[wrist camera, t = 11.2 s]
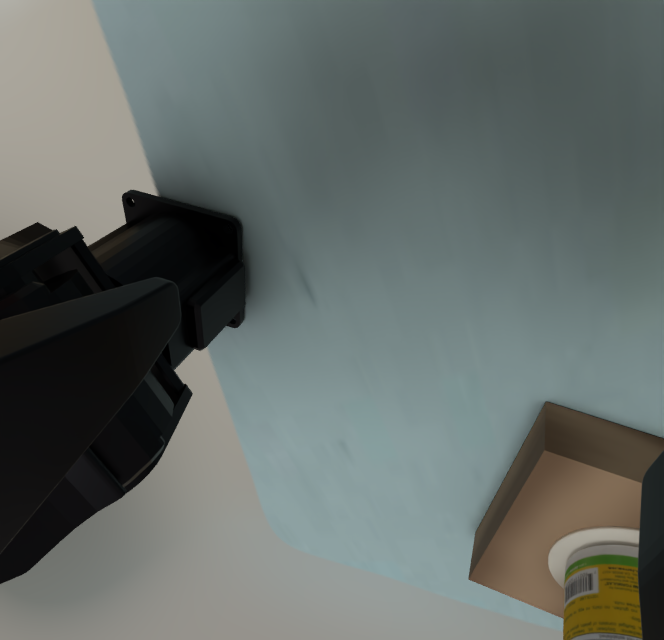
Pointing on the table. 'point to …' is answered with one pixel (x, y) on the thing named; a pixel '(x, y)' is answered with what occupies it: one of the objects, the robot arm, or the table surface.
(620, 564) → the supplement bottle
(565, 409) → the walnut base
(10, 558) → the robot arm
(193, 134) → the table surface
